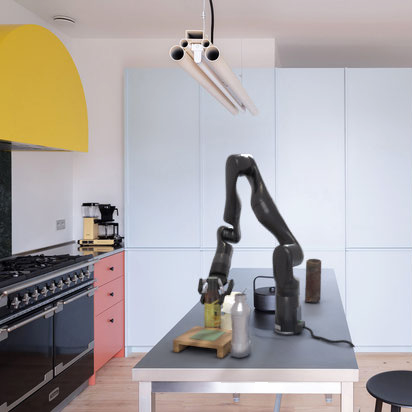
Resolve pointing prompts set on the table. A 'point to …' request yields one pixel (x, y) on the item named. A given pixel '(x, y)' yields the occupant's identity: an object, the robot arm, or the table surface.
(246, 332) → the plastic bottle
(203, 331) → the wooden stand
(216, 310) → the sauce bottle
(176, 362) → the table surface
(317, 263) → the rusty brown cylinder
